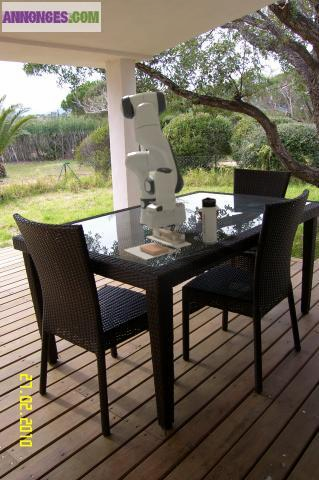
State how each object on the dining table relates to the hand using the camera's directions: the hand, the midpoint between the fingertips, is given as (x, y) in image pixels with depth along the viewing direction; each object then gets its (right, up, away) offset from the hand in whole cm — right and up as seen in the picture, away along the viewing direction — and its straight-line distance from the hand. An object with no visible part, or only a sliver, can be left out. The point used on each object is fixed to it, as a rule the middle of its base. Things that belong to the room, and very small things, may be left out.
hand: (167, 234), depth 181 cm
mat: (-8, -7, -11) cm, 16 cm away
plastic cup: (+21, +1, +14) cm, 25 cm away
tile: (-9, -5, -9) cm, 14 cm away
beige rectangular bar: (0, -2, +1) cm, 3 cm away
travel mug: (+19, -4, -3) cm, 19 cm away
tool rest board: (0, -3, +1) cm, 4 cm away
